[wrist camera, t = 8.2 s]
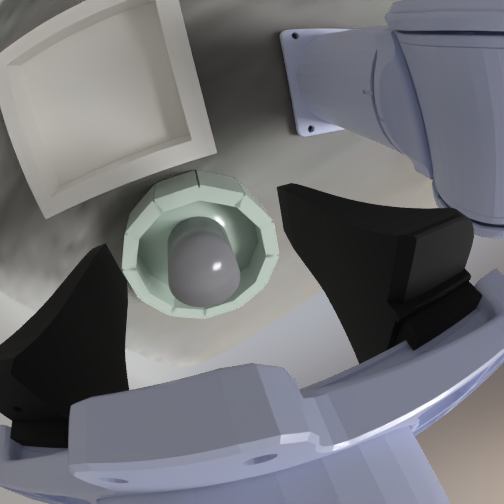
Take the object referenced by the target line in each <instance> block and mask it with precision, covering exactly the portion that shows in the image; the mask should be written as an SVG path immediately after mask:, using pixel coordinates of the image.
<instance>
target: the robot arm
mask: <svg viewBox="0 0 504 504" xmlns="http://www.w3.org/2000/svg"><path fill="white" fill-rule="evenodd" d="M385 19H386V21H387V23H388V25H387V26H376V27H367V28H360V29H335V28H316V29H291V30H284V31H282V32H281V33H280V42H281V47H282V52H283V57H284V62H285V67H286V72H287V77H288V83H289V88H290V94H291V100H292V106H293V112H294V118H295V125H296V131H297V133H298V134H299V135H300V136H302V137H306V136H311V135H316V134H322V133H327V132H333V131H339V130H345V129H347V130H349V131H352V132H355V133H357V134H360V135H362V136H364V137H367V138H369V139H372V140H374V141H376V142H379V143H381V144H383V145H385V146H387V147H390V148H392V149H394V150H396V151H398V152H400V153H402V154H405V155H406V156H408V157H409V158H410V159H411V160H412V162H413V164H414V167H415V170H416V171H417V172H419V173H421V174H423V175H424V176H426V177H428V178H430V179H433V182H432V187H433V195H434V198H435V201H436V204H437V206H438V207H439V208H433V209H421V208H400V207H391V206H382V205H375V204H369V203H364V202H359V201H354V200H350V199H346V198H342V197H338V196H335V195H331V194H328V193H325V192H321V191H318V190H315V189H312V188H309V187H305V186H302V185H298V184H293V183H290V184H287V185H283V186H279V187H277V191H278V197H279V203H280V209H281V215H282V222H283V228H284V231H285V233H286V235H287V237H288V239H289V241H290V243H291V245H292V246H293V248H294V250H295V251H296V252H297V254H298V255H299V257H300V258H301V259H302V261H303V262H304V263H305V265H306V266H307V268H308V269H309V270H310V272H311V273H312V274H313V276H314V277H315V279H316V280H317V281H318V283H319V284H320V286H321V287H322V289H323V290H324V292H325V293H326V295H327V297H328V299H329V301H330V303H331V304H332V306H333V308H334V310H335V312H336V314H337V316H338V318H339V320H340V322H341V324H342V326H343V328H344V330H345V332H346V334H347V336H348V339H349V341H350V343H351V345H352V347H353V350H354V352H355V354H356V357H357V359H358V362H359V365H357V366H354V367H352V368H350V369H348V370H346V371H343V372H341V373H339V374H337V375H334V376H332V377H330V378H327V379H325V380H322V381H320V382H318V383H315V384H313V385H310V386H307V387H305V388H302V389H300V390H299V388H298V385H297V383H296V381H295V379H294V378H293V377H292V376H291V375H290V374H289V373H288V372H287V371H286V370H285V369H284V368H281V367H277V366H268V365H261V364H254V363H250V364H244V365H238V366H232V367H226V368H219V369H216V370H213V371H209V372H205V373H201V374H198V375H194V376H190V377H187V378H182V379H179V380H174V381H170V382H166V383H162V384H157V385H153V386H148V387H143V388H139V389H135V390H129V386H128V379H127V371H126V362H125V336H126V321H127V307H128V291H127V280H126V279H125V277H124V275H123V274H122V272H121V270H120V268H119V267H118V265H117V263H116V261H115V260H114V258H113V256H112V254H111V252H110V251H109V249H108V247H107V245H106V244H103V245H100V246H98V247H95V248H93V249H92V250H91V251H90V252H89V253H88V254H87V255H86V256H85V257H84V258H83V259H82V260H81V261H80V262H79V264H78V265H77V266H76V267H75V268H74V270H73V271H72V272H71V273H70V274H69V276H68V277H67V278H66V279H65V280H64V282H63V283H62V284H61V285H60V286H59V288H58V289H57V290H56V291H55V292H54V294H53V295H52V296H51V297H50V298H49V299H48V301H47V302H46V303H45V304H44V305H43V306H42V307H41V308H40V309H39V310H38V311H37V312H36V313H35V314H34V316H32V317H31V318H30V319H29V320H28V321H27V322H26V323H25V324H24V325H23V326H22V327H21V328H20V329H19V330H18V331H16V332H15V333H14V334H13V335H12V336H11V337H9V338H8V339H7V340H6V341H5V342H3V343H2V344H1V345H0V413H2V414H3V415H4V416H6V417H7V418H9V419H10V420H12V427H9V426H5V425H0V486H1V487H3V488H5V489H8V490H10V491H12V492H15V493H18V494H20V495H23V496H26V497H28V498H31V499H34V500H38V501H42V502H46V503H50V504H450V502H449V500H448V498H447V496H446V494H445V492H444V490H443V488H442V486H441V484H440V482H439V481H438V479H437V477H436V475H435V473H434V471H433V469H432V467H431V466H430V464H429V462H428V460H427V458H426V456H425V454H424V453H423V451H422V449H421V447H420V445H419V444H418V442H417V440H416V438H415V437H414V436H416V435H417V434H419V433H420V432H422V431H423V430H424V429H426V428H427V427H429V426H430V425H432V424H433V423H434V422H436V421H437V420H438V419H440V418H441V417H442V416H443V415H445V414H446V413H447V412H449V411H450V410H451V409H453V408H454V407H455V406H456V405H458V404H459V403H460V402H461V401H462V400H464V399H465V398H466V397H467V396H468V395H469V394H470V393H472V392H473V391H474V390H475V389H476V388H477V387H478V386H479V385H481V384H482V383H483V382H484V381H485V380H486V379H487V378H488V377H489V376H490V375H491V374H492V373H493V372H494V371H495V370H496V369H497V368H498V367H499V366H500V365H501V364H502V363H503V362H504V275H503V274H502V273H501V272H500V271H499V270H498V269H494V270H492V271H491V272H490V273H488V274H487V275H485V276H484V277H483V278H481V279H480V280H479V281H478V282H477V284H476V285H475V286H473V285H472V284H471V283H470V282H469V280H470V278H471V275H470V274H469V272H468V271H466V270H465V266H466V263H467V260H468V257H469V254H470V250H471V247H472V243H473V238H474V234H475V235H478V236H482V237H487V238H494V239H495V238H496V239H504V0H403V1H398V2H394V3H393V4H392V6H391V8H390V12H389V13H387V14H386V15H385ZM292 33H295V34H296V36H297V38H296V39H294V38H292ZM309 126H312V130H311V131H308V127H309Z"/></svg>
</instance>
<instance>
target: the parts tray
mask: <svg viewBox="0 0 504 504" xmlns="http://www.w3.org/2000/svg"><path fill="white" fill-rule="evenodd" d="M0 108H1V111H2V114H3V118H4V121H5V124H6V127H7V130H8V133H9V136H10V139H11V142H12V145H13V148H14V150H15V153H16V156H17V158H18V161H19V163H20V166H21V168H22V170H23V173H24V175H25V177H26V180H27V182H28V184H29V187H30V189H31V191H32V193H33V195H34V197H35V199H36V201H37V203H38V206H39V208H40V210H41V211H42V213H43V215H44V217H45V219H48V218H50V217H52V216H54V215H56V214H58V213H60V212H62V211H64V210H66V209H69V208H71V207H73V206H75V205H77V204H79V203H82V202H84V201H86V200H88V199H91V198H93V197H95V196H98V195H100V194H102V193H105V192H107V191H110V190H112V189H115V188H117V187H120V186H122V185H125V184H127V183H130V182H132V181H135V180H138V179H140V178H143V177H146V176H148V175H151V174H154V173H157V172H160V171H163V170H165V169H168V168H171V167H174V166H177V165H180V164H183V163H187V162H190V161H193V160H196V159H199V158H203V157H206V156H209V155H213V154H216V153H217V150H216V146H215V143H214V139H213V135H212V131H211V127H210V123H209V119H208V115H207V111H206V108H205V104H204V100H203V96H202V92H201V88H200V84H199V80H198V76H197V72H196V68H195V64H194V60H193V56H192V52H191V48H190V44H189V40H188V36H187V32H186V28H185V24H184V20H183V16H182V12H181V7H180V3H179V0H86V1H84V2H82V3H80V4H78V5H76V6H74V7H72V8H70V9H68V10H66V11H64V12H62V13H60V14H58V15H56V16H55V17H53V18H51V19H49V20H48V21H46V22H44V23H43V24H41V25H39V26H38V27H36V28H35V29H33V30H31V31H30V32H28V33H27V34H25V35H24V36H22V37H21V38H20V39H18V40H17V41H15V42H14V43H13V44H11V45H10V46H8V47H7V48H6V49H4V50H3V51H2V52H1V53H0Z"/></svg>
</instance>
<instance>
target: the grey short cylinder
mask: <svg viewBox="0 0 504 504" xmlns="http://www.w3.org/2000/svg"><path fill="white" fill-rule="evenodd" d="M240 277H241V276H240V270H239V267H238V264H237V261H236V258H235V256H234V253H233V250H232V247H231V244H230V241H229V239H228V236H227V233H226V231H225V229H224V228H223V226H222V225H221V224H220V223H219V222H217V221H216V220H213V219H211V218H208V217H201V216H198V217H191V218H187V219H185V220H183V221H181V222H180V223H178V224H177V225H176V226H175V227H174V228H173V230H172V231H171V233H170V235H169V237H168V284H169V288H170V291H171V293H172V294H173V296H174V297H175V298H176V299H177V300H179V301H180V302H182V303H184V304H186V305H189V306H193V307H210V306H214V305H217V304H220V303H222V302H224V301H225V300H227V299H228V298H229V297H231V296H232V295H233V294H234V292H235V291H236V290H237V288H238V286H239V283H240Z"/></svg>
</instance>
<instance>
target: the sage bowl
mask: <svg viewBox="0 0 504 504" xmlns="http://www.w3.org/2000/svg"><path fill="white" fill-rule="evenodd" d="M198 216H201V217H208V218H211V219H213V220H216V221H217V222H219V223H220V224H221V225H222V226H223V228H224V229H225V231H226V233H227V236H228V239H229V241H230V244H231V247H232V250H233V253H234V256H235V258H236V261H237V264H238V267H239V270H240V276H241V277H240V283H239V286H238V288H237V290H236V291H235V292H234V294H233V295H232V296H231V297H229V298H228V299H227V300H225V301H224V302H222V303H220V304H217V305H214V306H210V307H193V306H189V305H186V304H184V303H182V302H180V301H179V300H177V299H176V298H175V297H174V296H173V294H172V293H171V291H170V288H169V284H168V237H169V235H170V233H171V231H172V230H173V228H174V227H175V226H176V225H177V224H178V223H180V222H181V221H183V220H185V219H187V218H191V217H198ZM278 258H279V248H278V243H277V237H276V231H275V225H274V221H273V220H272V218H271V217H270V215H269V214H268V212H267V211H266V209H265V208H264V206H263V205H262V203H261V202H260V201H259V200H258V199H257V198H256V197H255V196H254V195H253V194H252V193H251V192H250V191H249V190H247V189H246V188H245V187H244V186H243V185H242V184H241V183H240V182H239V181H238V180H237V179H235V178H233V177H229V176H224V175H219V174H214V173H209V172H204V171H199V170H196V172H195V170H193V171H190V172H187V173H184V174H181V175H178V176H175V177H172V178H169V179H166V180H163V181H160V182H157V183H156V185H155V184H154V185H153V186H152V187H151V189H150V190H149V191H148V192H147V193H146V194H145V196H144V197H143V198H142V199H141V200H140V201H139V203H138V204H137V205H136V206H135V207H134V209H133V210H132V211H131V213H130V215H129V219H128V223H127V227H126V231H125V236H124V246H123V259H122V271H123V273H124V275H125V277H126V278H127V280H128V282H129V283H130V285H131V287H132V288H133V290H134V292H135V293H136V295H137V296H138V298H139V299H140V300H141V301H143V302H145V303H147V304H148V305H150V306H152V307H154V308H156V309H157V310H159V311H161V312H163V313H165V314H167V315H171V316H175V317H187V318H201V319H204V318H209V317H213V316H216V315H219V314H222V313H226V312H229V311H232V310H235V309H238V307H241V306H243V305H244V304H245V303H246V302H247V301H249V300H250V299H251V298H252V297H253V296H255V295H256V294H257V293H258V292H259V291H261V290H262V289H263V288H264V287H265V285H267V283H268V281H269V278H270V276H271V274H272V271H273V269H274V267H275V264H276V262H277V260H278Z"/></svg>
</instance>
